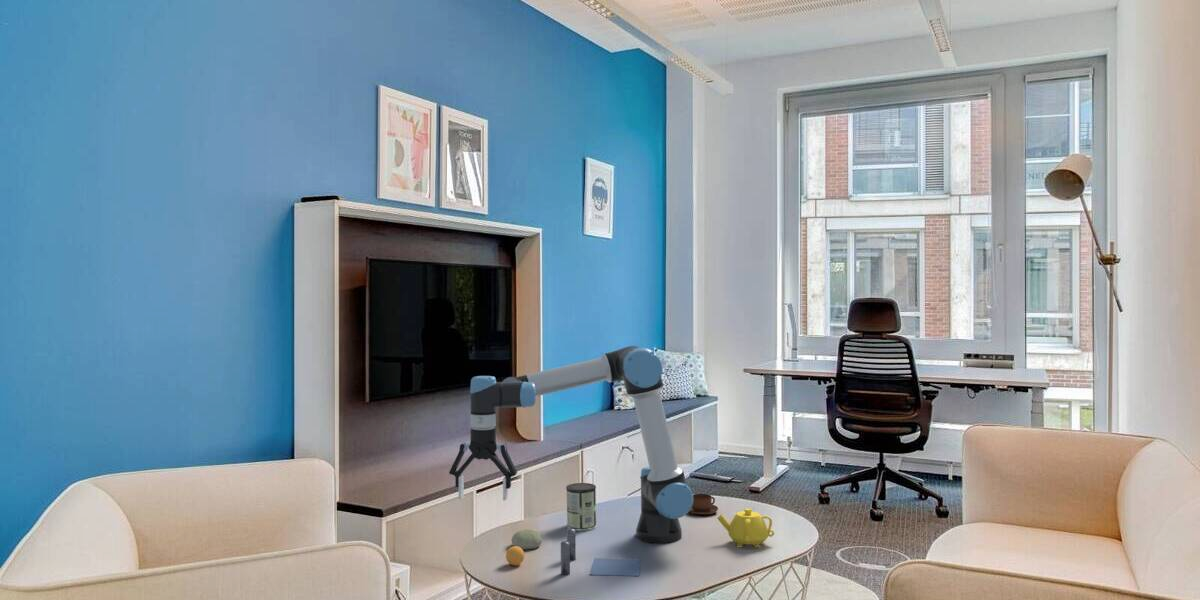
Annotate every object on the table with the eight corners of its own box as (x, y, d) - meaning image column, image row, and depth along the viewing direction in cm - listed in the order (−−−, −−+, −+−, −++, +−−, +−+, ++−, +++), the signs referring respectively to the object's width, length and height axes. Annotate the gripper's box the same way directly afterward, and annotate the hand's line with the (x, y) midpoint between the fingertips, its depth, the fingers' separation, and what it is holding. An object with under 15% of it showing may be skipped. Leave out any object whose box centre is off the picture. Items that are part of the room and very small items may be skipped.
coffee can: (577, 521, 280) (577, 481, 280) (601, 525, 274) (601, 484, 274) (560, 528, 271) (560, 487, 271) (585, 532, 266) (585, 491, 266)
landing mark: (640, 559, 238) (640, 559, 238) (638, 576, 224) (638, 575, 224) (594, 558, 239) (594, 558, 239) (589, 575, 225) (589, 574, 225)
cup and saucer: (696, 506, 298) (696, 490, 298) (724, 512, 290) (724, 495, 290) (678, 513, 289) (678, 496, 289) (706, 519, 281) (706, 502, 281)
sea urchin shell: (540, 545, 247) (521, 526, 248) (522, 563, 248) (504, 543, 249) (547, 536, 256) (530, 517, 257) (531, 553, 257) (513, 534, 258)
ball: (526, 562, 237) (525, 543, 237) (522, 568, 231) (522, 549, 231) (508, 561, 237) (507, 543, 237) (504, 567, 232) (504, 549, 232)
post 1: (570, 572, 228) (570, 541, 228) (569, 575, 225) (569, 543, 225) (561, 571, 228) (561, 541, 228) (560, 575, 226) (560, 543, 225)
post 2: (576, 557, 240) (575, 528, 240) (575, 560, 238) (574, 530, 238) (567, 557, 241) (567, 528, 241) (566, 560, 238) (566, 530, 238)
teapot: (748, 534, 263) (748, 500, 263) (778, 544, 251) (778, 509, 251) (716, 542, 255) (715, 507, 255) (745, 553, 243) (745, 517, 243)
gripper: (438, 429, 234) (438, 500, 234) (521, 430, 231) (521, 503, 231) (446, 425, 241) (446, 494, 241) (526, 426, 238) (526, 496, 238)
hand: (483, 498), depth 236 cm, fingers open, 13 cm apart
